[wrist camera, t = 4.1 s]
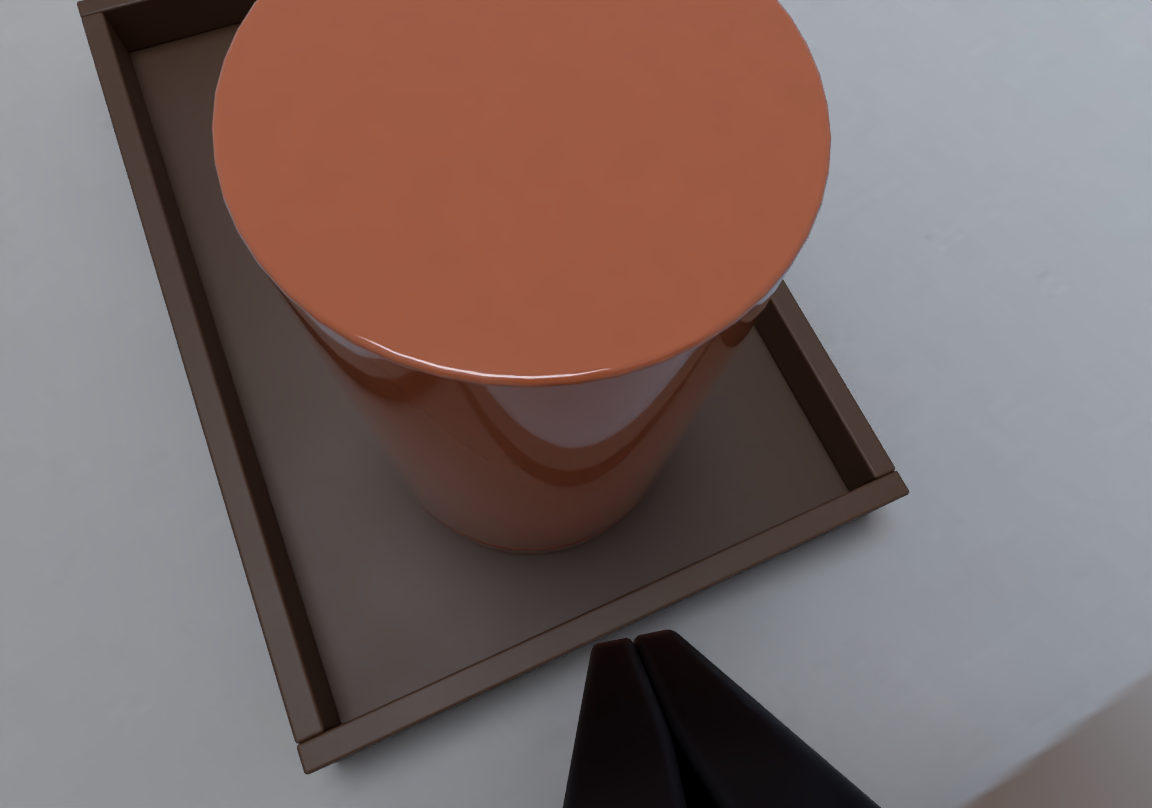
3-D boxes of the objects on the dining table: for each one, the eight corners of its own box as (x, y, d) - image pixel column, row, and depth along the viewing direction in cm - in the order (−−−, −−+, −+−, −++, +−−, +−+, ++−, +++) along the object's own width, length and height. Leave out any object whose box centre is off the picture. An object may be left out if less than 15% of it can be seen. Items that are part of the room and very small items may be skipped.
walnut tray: (868, 512, 19) (911, 492, 17) (333, 762, 17) (304, 775, 14) (545, -52, 25) (546, -119, 23) (118, 65, 23) (75, 0, 21)
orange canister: (716, 486, 18) (951, 245, 8) (448, 603, 17) (321, 495, 7) (598, 257, 20) (668, -169, 10) (352, 346, 19) (140, -38, 9)
